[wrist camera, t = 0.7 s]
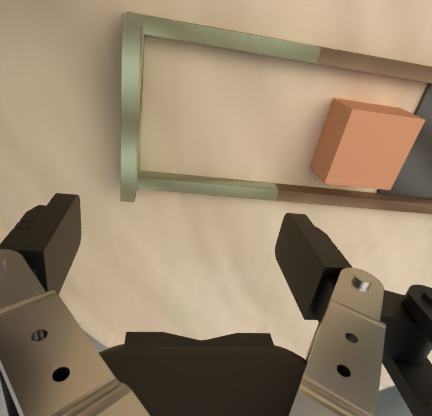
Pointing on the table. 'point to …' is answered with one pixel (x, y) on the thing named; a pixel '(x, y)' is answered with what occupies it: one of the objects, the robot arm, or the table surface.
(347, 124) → the block
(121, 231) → the table surface
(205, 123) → the table surface
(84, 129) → the table surface
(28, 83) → the table surface
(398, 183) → the lane
